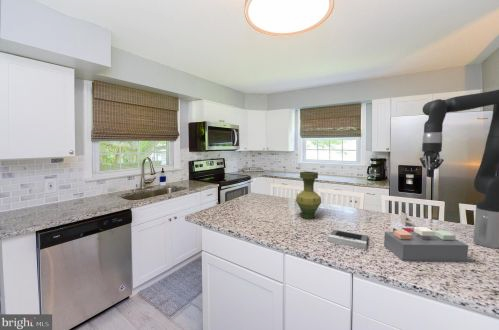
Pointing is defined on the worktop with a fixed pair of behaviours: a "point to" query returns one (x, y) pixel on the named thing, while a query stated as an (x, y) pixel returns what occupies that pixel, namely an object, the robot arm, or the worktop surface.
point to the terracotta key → (402, 234)
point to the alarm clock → (348, 238)
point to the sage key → (444, 235)
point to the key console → (426, 248)
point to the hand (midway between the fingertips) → (429, 177)
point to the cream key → (423, 232)
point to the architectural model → (404, 219)
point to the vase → (308, 196)
